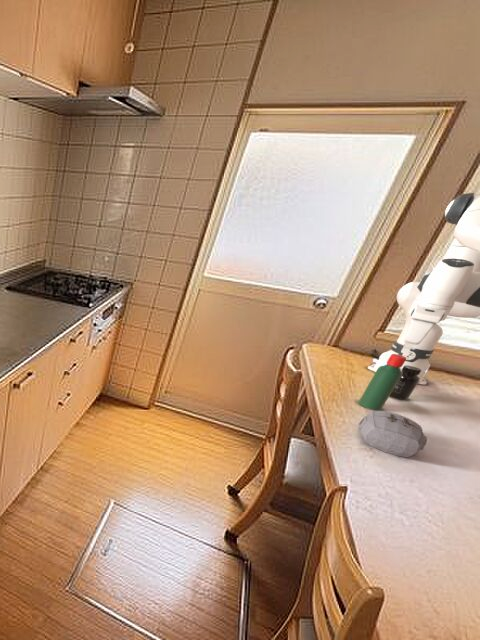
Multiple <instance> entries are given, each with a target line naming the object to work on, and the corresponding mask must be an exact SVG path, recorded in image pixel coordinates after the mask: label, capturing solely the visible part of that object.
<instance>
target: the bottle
mask: <svg viewBox="0 0 480 640" xmlns="http://www.w3.org/2000/svg"><path fill="white" fill-rule="evenodd" d="M401 376H402V372H401V369H400V367H394V366H391V365H388V364H387V365H383V366H380V367H379V368H378V369H377V371H376V372H374V375H372V378H371V380H370V381H369V383H368V385H367V386H366V389H365V390H364V392H363V393H362V395H361V397H360V398H359V400H358V404H359V405H360V406H361V407H364V408H366V409H369V410H372V411H382V409H383V408H384V406H385V405H386V402H387V401H388V399H389V397H390V394H391V393H392V391H393V389H394V388H395V386H396V384H397V383H398V381H399V379H400V378H401Z"/></svg>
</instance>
